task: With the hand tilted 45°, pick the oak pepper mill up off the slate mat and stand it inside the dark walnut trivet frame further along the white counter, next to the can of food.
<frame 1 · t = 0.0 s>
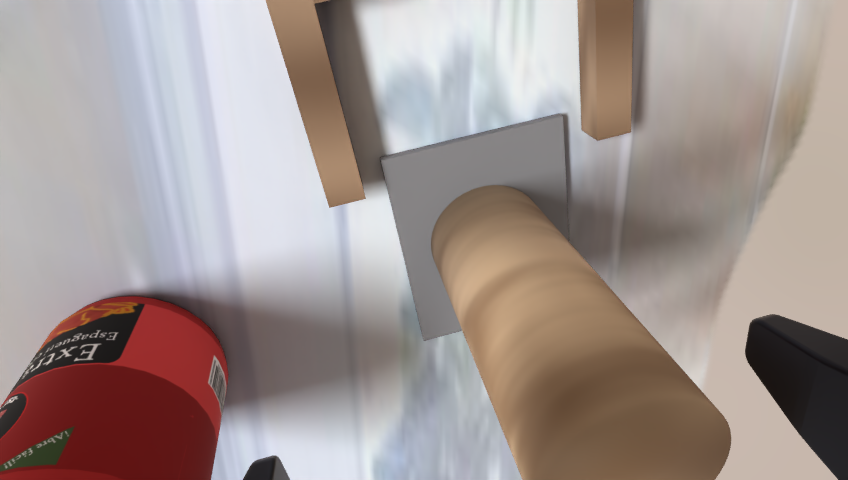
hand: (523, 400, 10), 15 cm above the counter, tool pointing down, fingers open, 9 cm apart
walnut frame: (460, 64, 21), on the counter
canned food: (145, 357, 25), on the counter
slate mat: (484, 234, 25), on the counter
pepper mill: (487, 238, 25), resting on slate mat
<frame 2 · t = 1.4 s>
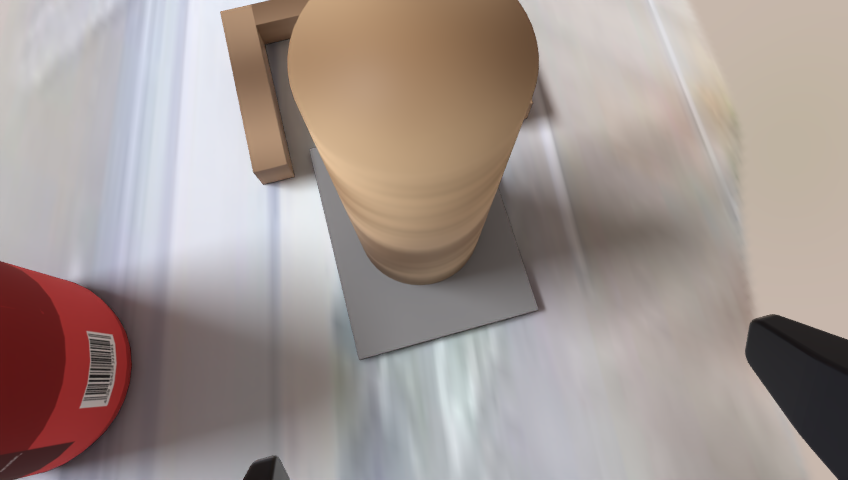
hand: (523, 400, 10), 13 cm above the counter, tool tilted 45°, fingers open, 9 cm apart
walnut frame: (377, 79, 26), on the counter
canned food: (51, 372, 23), on the counter
slate mat: (419, 228, 24), on the counter
pepper mill: (419, 226, 24), resting on slate mat
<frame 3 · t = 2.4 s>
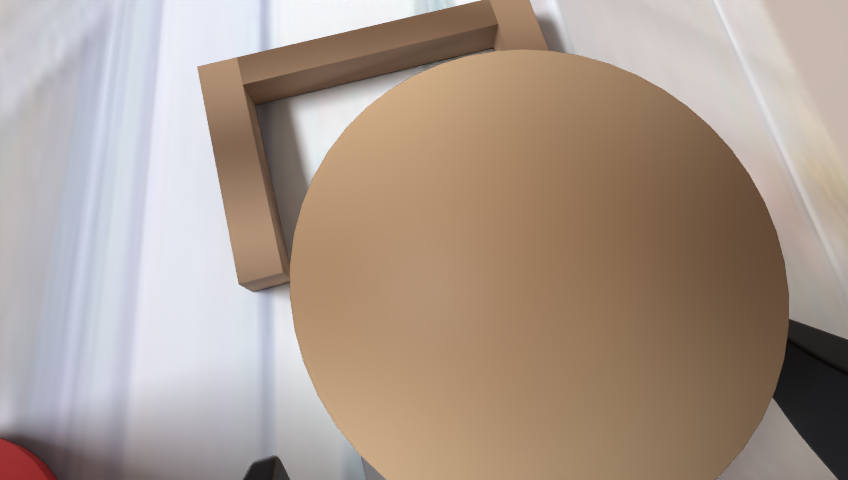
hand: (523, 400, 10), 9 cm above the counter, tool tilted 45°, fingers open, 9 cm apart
walnut frame: (397, 149, 21), on the counter
pepper mill: (456, 350, 18), resting on slate mat
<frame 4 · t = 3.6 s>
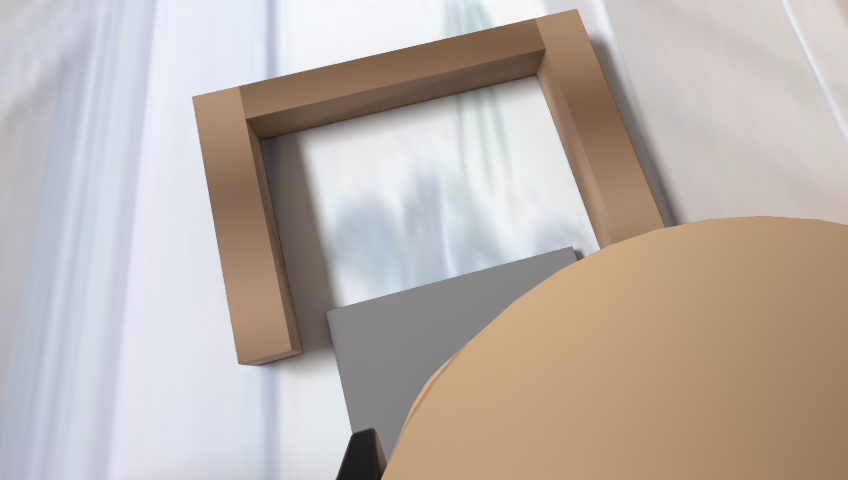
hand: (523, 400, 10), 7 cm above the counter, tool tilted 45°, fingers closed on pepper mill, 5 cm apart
walnut frame: (425, 195, 18), on the counter
slate mat: (496, 441, 16), on the counter
pepper mill: (498, 442, 15), resting on slate mat, touching gripper
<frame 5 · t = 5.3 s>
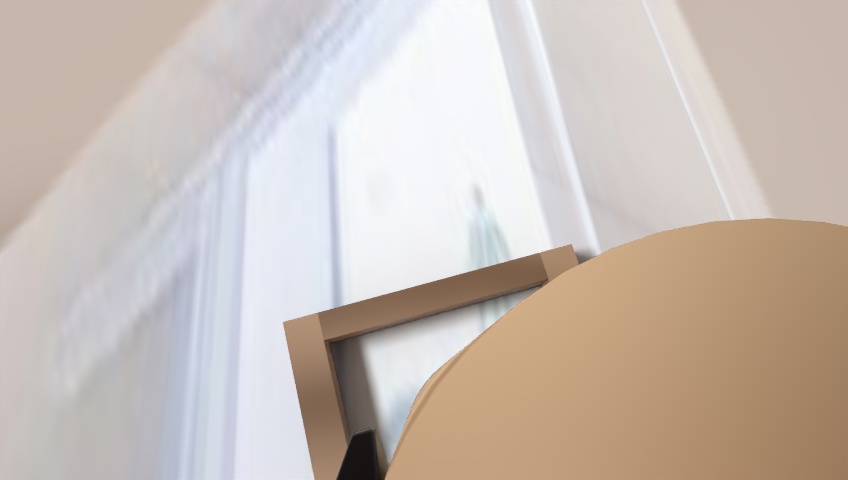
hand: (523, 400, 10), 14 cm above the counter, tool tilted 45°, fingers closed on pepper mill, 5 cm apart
walnut frame: (458, 388, 23), on the counter
pepper mill: (498, 443, 15), point 8 cm above the counter, touching gripper
when the fingers open (8 cm above the counter, at t = 6.9 s): pepper mill drops 1 cm, on the counter.
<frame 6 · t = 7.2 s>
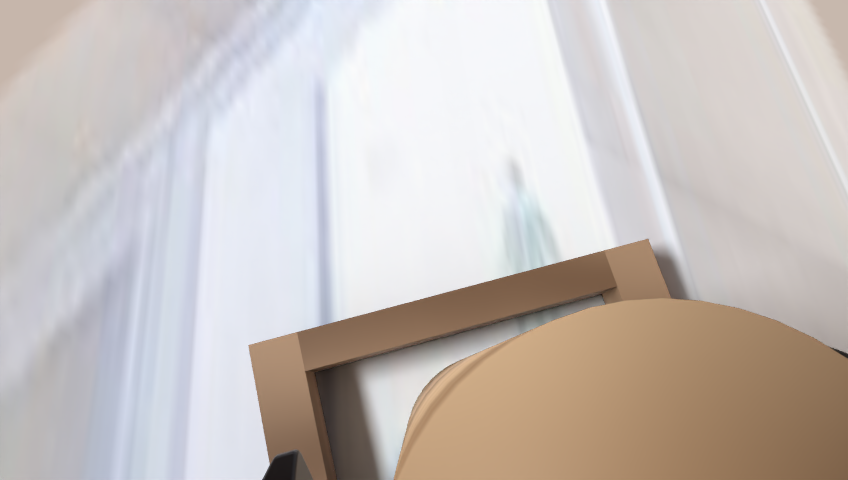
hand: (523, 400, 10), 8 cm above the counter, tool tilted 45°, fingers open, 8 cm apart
walnut frame: (490, 436, 17), on the counter
pepper mill: (491, 442, 17), on the counter
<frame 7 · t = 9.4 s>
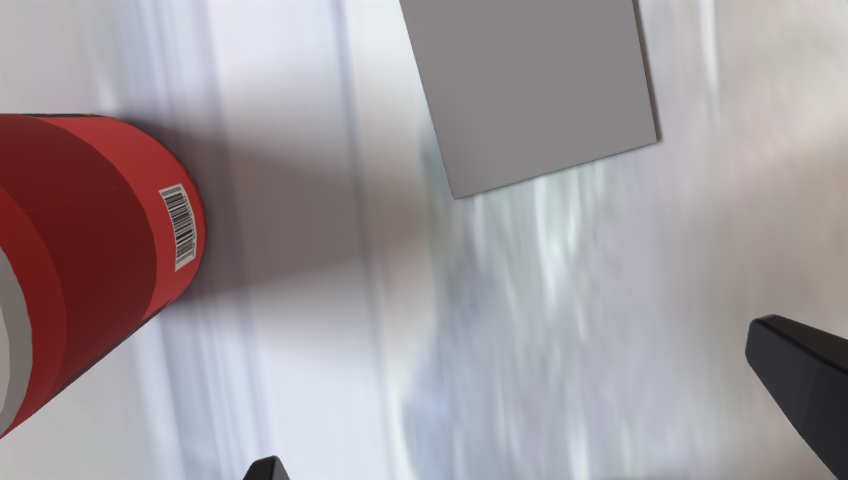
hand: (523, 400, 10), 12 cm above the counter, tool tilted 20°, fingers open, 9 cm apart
canned food: (116, 215, 21), on the counter
slate mat: (522, 39, 20), on the counter
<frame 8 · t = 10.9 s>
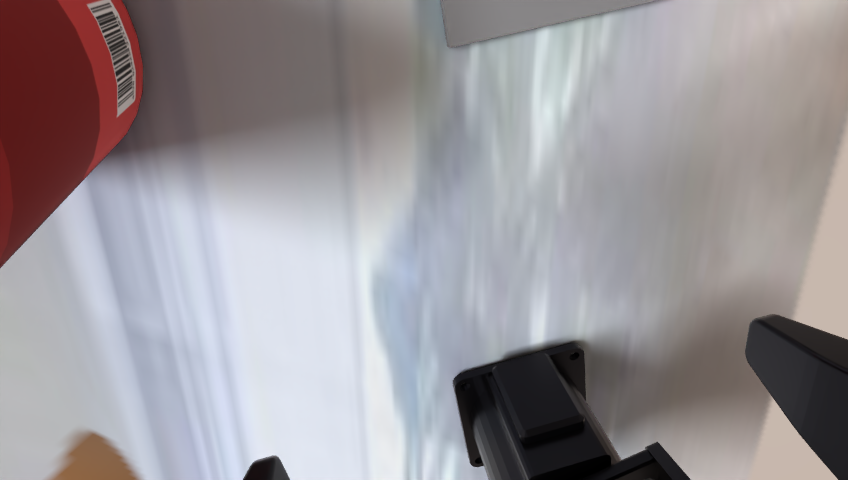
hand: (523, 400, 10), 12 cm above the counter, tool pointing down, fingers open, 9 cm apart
canned food: (11, 37, 16), on the counter
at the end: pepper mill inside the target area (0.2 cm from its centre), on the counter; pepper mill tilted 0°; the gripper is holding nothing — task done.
